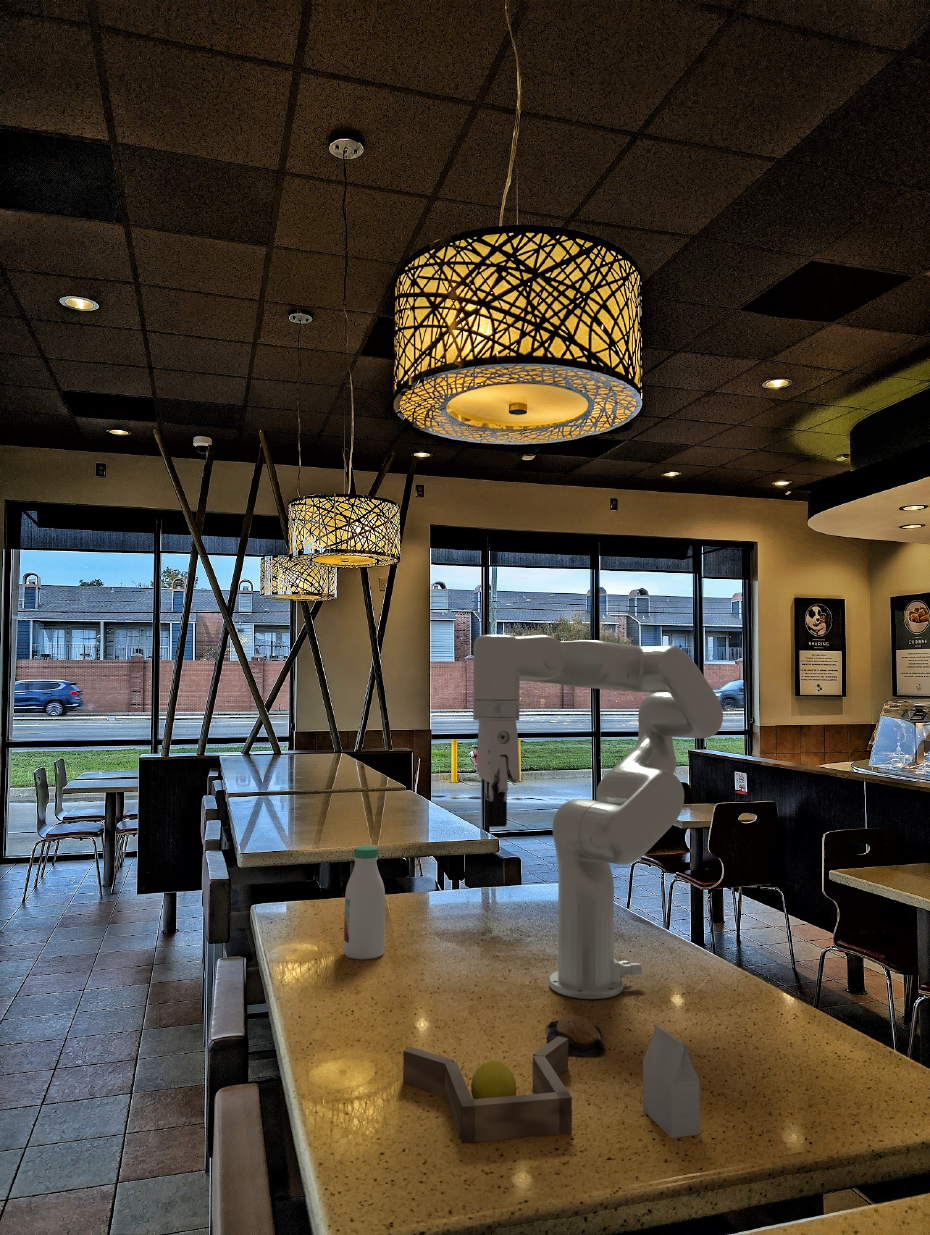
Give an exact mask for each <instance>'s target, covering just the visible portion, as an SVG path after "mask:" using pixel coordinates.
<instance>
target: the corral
mask: <svg viewBox="0 0 930 1235" xmlns="http://www.w3.org/2000/svg"><path fill="white" fill-rule="evenodd" d="M402 1052H403V1053H402V1054H403V1055H402V1056H403V1057H402V1062H403V1063H402V1065H403V1066H402V1068H403V1069H402V1083H403V1084H407V1085H409V1086H413V1087H415V1088H418V1089H421V1090H424V1091H427V1092H430V1093H433V1094H435V1095H439V1096H441V1097H442V1096H443V1097H444V1098H445V1101H446V1104H447V1105H448V1108H449V1112H450V1115H451V1117H452V1120H453V1122H454V1126H455V1128H456V1132H457V1133H458V1136H459V1139H460V1142H461V1144H470V1143H480V1142H492V1141H501V1140H512V1139H513V1140H514V1139H523V1138H533V1137H543V1136H554V1135H556V1136H557V1135H565V1134H572V1133H573V1129H572V1128H573V1127H572V1126H573V1124H572V1123H573V1119H572V1118H573V1110H572V1109H573V1100H572V1098H573V1097H572V1095H571V1094H570V1092H569V1091H568V1089H567V1088H566V1086H565V1085H564V1083H563V1081H562V1080H561V1079H560V1076H561V1075H563V1074H564V1073H566V1071H568V1070H569V1057H568V1038H564V1037H560V1036H558V1037H556V1038H555V1039H553V1040H552V1041H551V1042H549V1043H548V1042H547V1044H545V1045H543V1047H541V1048H540V1049H538V1050H536V1052H534V1053H533V1054H532V1090H533V1091H534V1094H533V1093H532V1094H531V1093H530V1094H520V1095H516V1096H506V1097H495V1098H483V1099H473V1097H472V1094H471V1092H470V1090H469V1088H468V1086H467V1083H466V1081H465V1079H464V1076H463V1074H462V1071H461V1069H460V1066H459V1064H458V1062H457V1061H455V1060H454V1059H451V1058H449V1057H445V1056H443V1055H439V1054H435V1053H433V1052H429V1051H426V1050H423V1049H419V1048H415V1047H413V1046H408V1047H407V1048H406V1049H404V1050H403V1051H402Z"/></svg>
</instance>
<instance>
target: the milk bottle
mask: <svg viewBox="0 0 930 1235" xmlns="http://www.w3.org/2000/svg"><path fill="white" fill-rule="evenodd" d="M378 856H379V848H378V847H377V846H373V845H360V846H356V847H354V848H353V860H354V867H353V870H352V872H351V874H350V877H349V879H348V882H347V885H346V888H345V896H344V898H345V899H344V918H343V921H344V922H343V924H344V925H343V926H344V927H343V931H344V932H343V954H344V955H345V957H347V958H350V959H352V960H353V959H354V960H373V959H376V958H379V957H382V956H383V955H384V952H385V948H386V947H385V945H386V943H385V942H386V941H385V940H386V939H385V938H386V937H385V936H386V891H385V890H386V889H385V885H384V882H383V879H382V877H381V874H380V872H379V869H378V864H377V861H378V859H379V857H378Z"/></svg>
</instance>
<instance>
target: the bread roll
mask: <svg viewBox="0 0 930 1235" xmlns="http://www.w3.org/2000/svg"><path fill="white" fill-rule="evenodd" d="M544 1031H545V1035H546V1038H545V1039H546V1040H547V1044H548V1043H549V1042H551V1041H552V1040H553V1039H555V1038H556V1037H558V1036H560V1037H564V1038H568V1058H589V1059H590V1058H598V1057H599V1058H600V1057H602V1056H606V1055H607V1051H606V1046H605V1043H604V1042H603V1035H602V1031H601V1029H600V1028H599V1027H598V1025H595V1024H594V1023H593V1022H592V1021H590V1020H589V1019H588V1018H586V1017H584V1016H581V1015H572V1016H569V1015H568V1016H564V1017H562V1018H561V1019H559V1020H552V1021H550V1022H549V1024H548V1025H546V1026H545V1027H544Z"/></svg>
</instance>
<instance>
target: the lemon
mask: <svg viewBox="0 0 930 1235" xmlns="http://www.w3.org/2000/svg"><path fill="white" fill-rule="evenodd" d="M470 1089H471V1090H470V1091H471V1092H470V1094H471V1097H472V1099H483V1098H495V1097H506V1096H517V1083H516V1078H515V1076H514V1074H513V1072H512V1071H511V1069H510V1068H509V1067H508V1066H507V1065H506V1064H504V1063H503V1062H500V1061H496V1060H491V1061H486V1062H483V1063H481V1065H479V1067H477V1069H476V1070H474V1074H473V1076H472V1079H471V1083H470Z"/></svg>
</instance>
